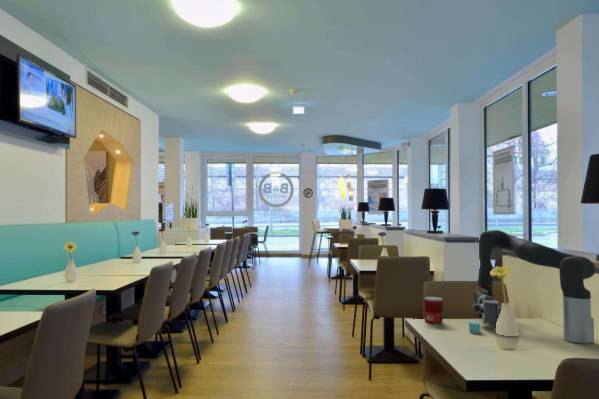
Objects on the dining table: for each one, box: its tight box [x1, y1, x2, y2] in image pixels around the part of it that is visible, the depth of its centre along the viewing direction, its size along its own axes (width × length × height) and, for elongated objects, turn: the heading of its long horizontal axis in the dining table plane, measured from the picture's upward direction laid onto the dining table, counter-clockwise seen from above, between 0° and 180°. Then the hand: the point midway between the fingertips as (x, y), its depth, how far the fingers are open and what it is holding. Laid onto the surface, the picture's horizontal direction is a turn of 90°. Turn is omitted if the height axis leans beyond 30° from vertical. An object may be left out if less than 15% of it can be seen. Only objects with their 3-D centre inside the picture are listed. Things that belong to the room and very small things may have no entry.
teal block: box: [468, 320, 481, 334], centre depth 175 cm, size 4×4×4 cm
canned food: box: [423, 296, 444, 324], centre depth 191 cm, size 8×8×11 cm
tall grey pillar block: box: [481, 299, 500, 326], centre depth 182 cm, size 6×6×10 cm
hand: (491, 311), depth 179 cm, fingers closed on tall grey pillar block, 6 cm apart
